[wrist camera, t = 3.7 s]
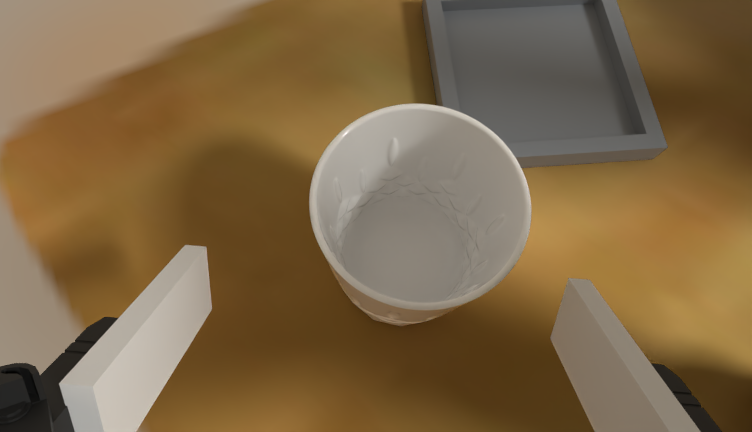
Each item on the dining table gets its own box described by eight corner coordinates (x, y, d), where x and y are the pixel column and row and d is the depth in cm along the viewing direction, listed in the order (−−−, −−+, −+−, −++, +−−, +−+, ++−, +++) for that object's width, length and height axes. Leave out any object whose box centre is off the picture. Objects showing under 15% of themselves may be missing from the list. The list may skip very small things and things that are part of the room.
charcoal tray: (599, -1, 32) (610, -19, 31) (652, 159, 28) (667, 147, 26) (421, 7, 32) (424, -10, 30) (447, 172, 27) (451, 161, 26)
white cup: (307, 234, 26) (275, 149, 16) (428, 180, 27) (462, 74, 18) (366, 363, 23) (368, 352, 14) (495, 298, 25) (576, 248, 15)
